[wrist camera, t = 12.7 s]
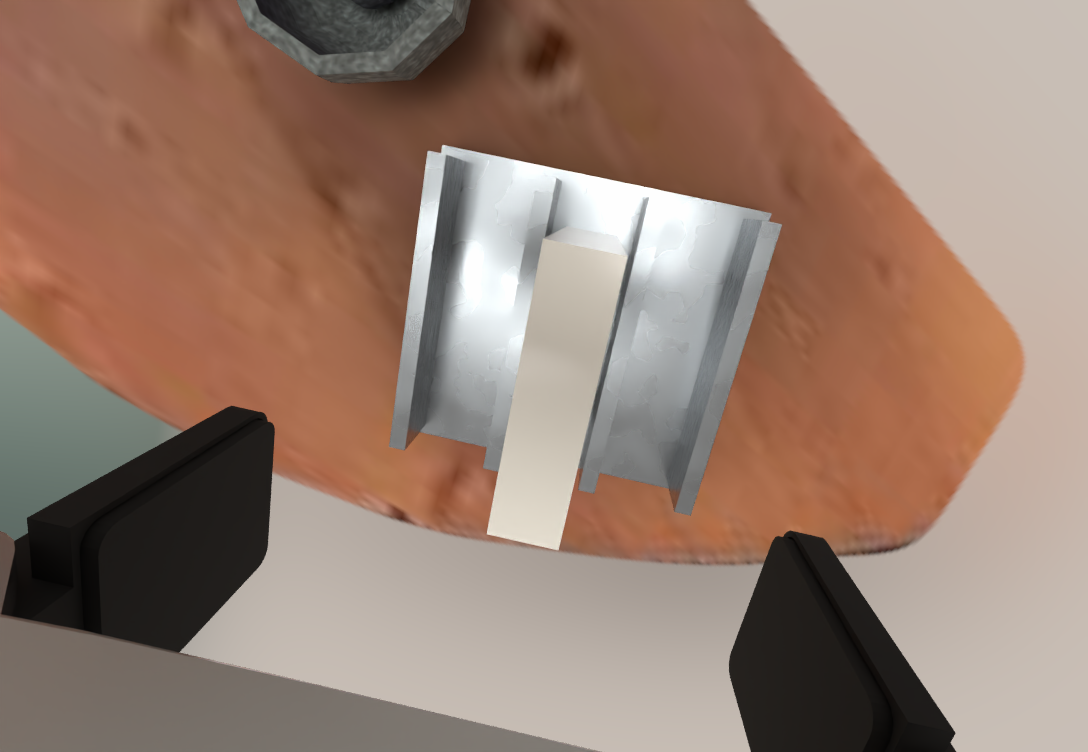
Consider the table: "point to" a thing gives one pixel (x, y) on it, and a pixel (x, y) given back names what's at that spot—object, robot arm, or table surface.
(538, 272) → the white flat block
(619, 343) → the rack
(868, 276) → the table surface
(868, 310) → the table surface
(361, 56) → the mortar and pestle
